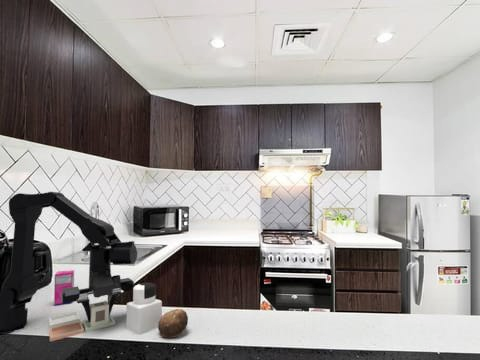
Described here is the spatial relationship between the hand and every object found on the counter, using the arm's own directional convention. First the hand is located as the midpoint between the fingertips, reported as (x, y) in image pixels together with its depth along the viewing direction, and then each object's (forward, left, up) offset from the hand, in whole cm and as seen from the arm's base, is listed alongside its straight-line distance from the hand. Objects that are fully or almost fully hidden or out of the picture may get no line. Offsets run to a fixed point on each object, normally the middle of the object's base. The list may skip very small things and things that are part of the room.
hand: (98, 319), depth 78 cm
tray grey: (-8, +10, -2) cm, 13 cm away
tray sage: (0, 0, -2) cm, 2 cm away
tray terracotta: (-8, 0, -2) cm, 8 cm away
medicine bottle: (+10, -11, -2) cm, 15 cm away
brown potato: (+15, -20, -2) cm, 25 cm away
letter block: (0, 0, -1) cm, 1 cm away
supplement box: (-7, +33, -2) cm, 34 cm away
